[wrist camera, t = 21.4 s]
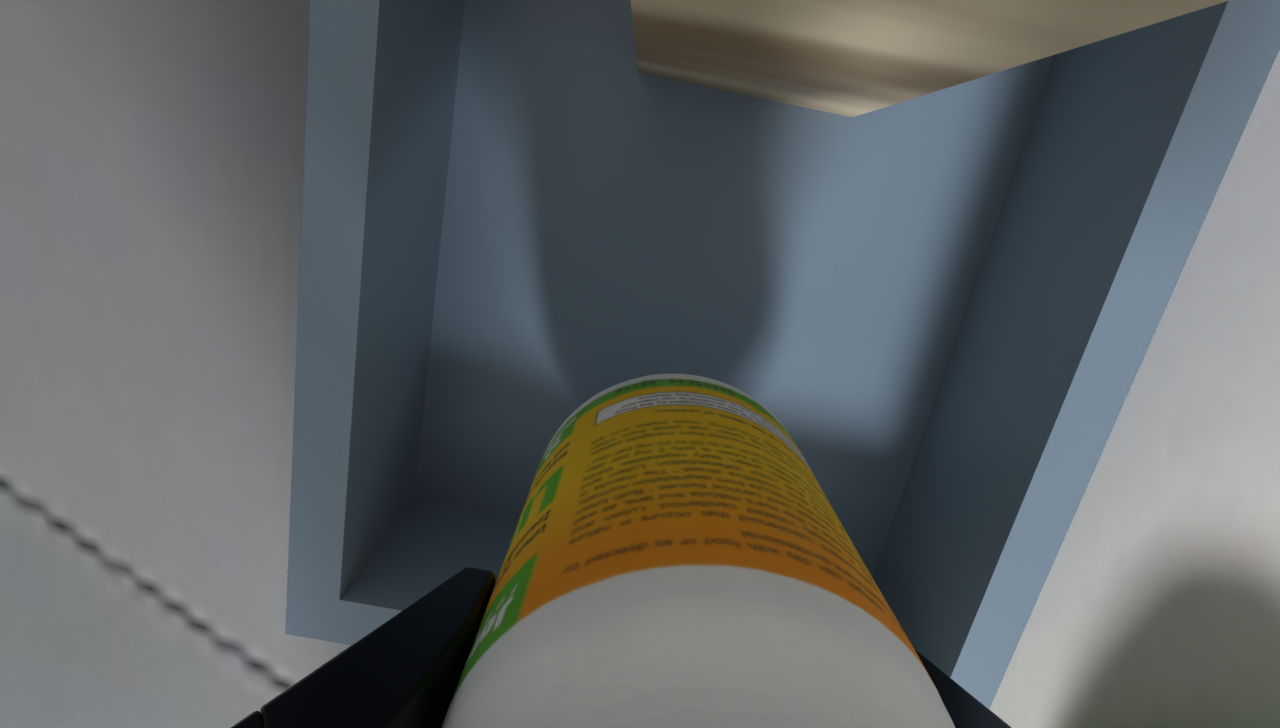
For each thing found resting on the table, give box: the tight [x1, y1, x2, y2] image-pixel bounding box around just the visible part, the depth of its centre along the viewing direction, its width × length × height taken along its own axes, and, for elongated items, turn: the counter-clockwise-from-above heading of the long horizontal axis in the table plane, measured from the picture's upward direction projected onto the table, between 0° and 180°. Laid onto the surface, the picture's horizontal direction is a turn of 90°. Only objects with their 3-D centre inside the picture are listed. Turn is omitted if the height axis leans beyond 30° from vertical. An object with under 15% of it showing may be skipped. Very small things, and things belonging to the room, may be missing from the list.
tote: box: [286, 0, 1280, 709], centre depth 12 cm, size 18×14×5 cm
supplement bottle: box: [442, 374, 955, 728], centre depth 8 cm, size 5×5×10 cm
